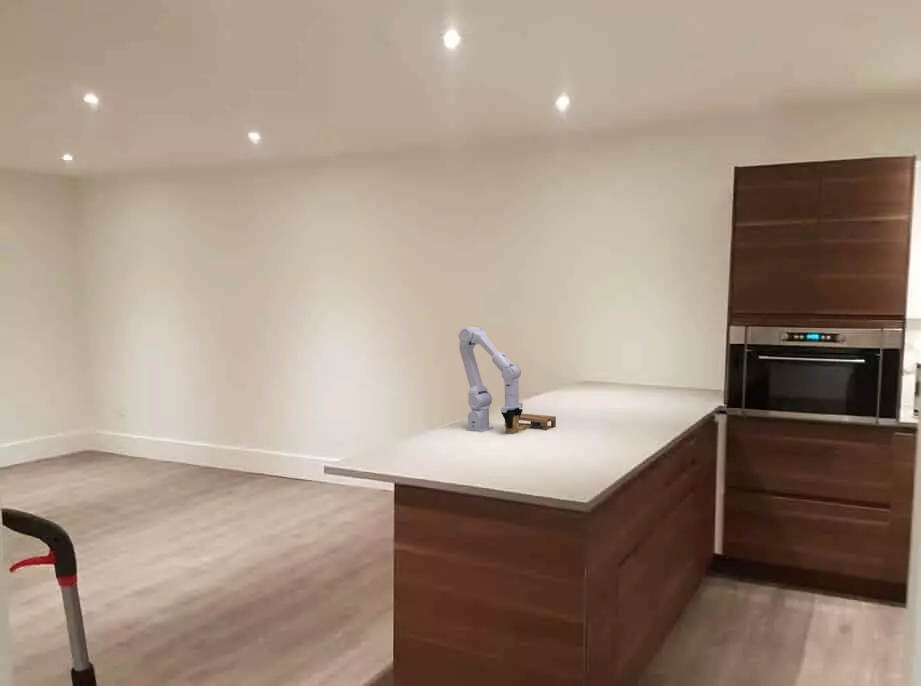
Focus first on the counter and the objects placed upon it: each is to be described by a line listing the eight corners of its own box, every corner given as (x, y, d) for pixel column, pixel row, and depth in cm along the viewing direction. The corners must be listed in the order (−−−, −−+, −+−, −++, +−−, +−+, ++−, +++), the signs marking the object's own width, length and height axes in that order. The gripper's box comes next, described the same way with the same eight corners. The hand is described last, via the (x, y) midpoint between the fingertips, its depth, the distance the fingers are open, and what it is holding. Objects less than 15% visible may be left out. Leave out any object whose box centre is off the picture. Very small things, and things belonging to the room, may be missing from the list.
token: (540, 426, 325) (540, 421, 325) (530, 425, 328) (530, 420, 328) (546, 424, 329) (546, 419, 329) (536, 423, 332) (536, 418, 332)
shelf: (545, 430, 314) (545, 419, 313) (505, 426, 325) (504, 415, 325) (555, 426, 321) (555, 416, 321) (515, 422, 332) (515, 412, 332)
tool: (513, 433, 308) (513, 416, 307) (505, 432, 310) (505, 416, 310) (533, 426, 322) (533, 410, 321) (525, 426, 324) (525, 410, 324)
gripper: (511, 397, 301) (511, 431, 302) (528, 393, 313) (529, 425, 314) (496, 396, 305) (496, 429, 306) (514, 392, 317) (514, 423, 318)
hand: (512, 427), depth 310 cm, fingers closed on tool, 4 cm apart
